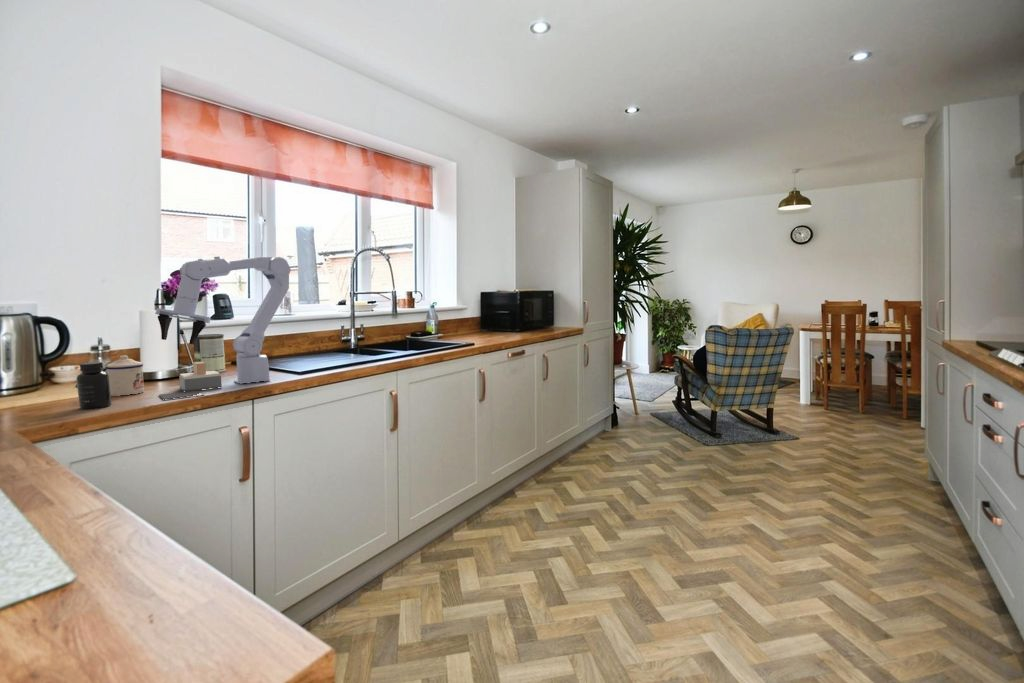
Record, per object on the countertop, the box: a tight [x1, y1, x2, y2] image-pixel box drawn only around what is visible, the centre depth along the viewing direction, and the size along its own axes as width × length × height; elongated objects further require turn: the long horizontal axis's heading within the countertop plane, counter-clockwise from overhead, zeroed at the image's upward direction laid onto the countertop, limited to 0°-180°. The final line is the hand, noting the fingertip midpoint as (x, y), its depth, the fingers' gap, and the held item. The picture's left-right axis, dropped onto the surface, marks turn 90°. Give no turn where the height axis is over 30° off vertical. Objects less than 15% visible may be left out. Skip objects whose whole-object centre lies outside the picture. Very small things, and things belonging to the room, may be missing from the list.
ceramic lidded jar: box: [105, 354, 145, 397], centre depth 160 cm, size 12×9×12 cm
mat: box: [158, 390, 202, 401], centre depth 155 cm, size 10×9×1 cm
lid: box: [179, 361, 221, 379], centre depth 166 cm, size 10×8×5 cm
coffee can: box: [193, 333, 226, 373], centre depth 201 cm, size 10×10×14 cm
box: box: [178, 375, 223, 392], centre depth 166 cm, size 10×8×4 cm
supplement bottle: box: [76, 361, 112, 410], centre depth 141 cm, size 7×7×12 cm
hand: (177, 341), depth 162 cm, fingers open, 7 cm apart
